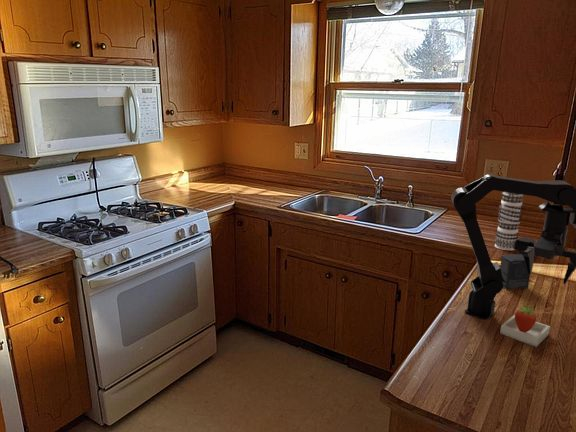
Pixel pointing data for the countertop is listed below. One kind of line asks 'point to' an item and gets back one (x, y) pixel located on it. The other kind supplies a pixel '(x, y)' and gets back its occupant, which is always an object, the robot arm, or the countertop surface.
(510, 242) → the decorative candle
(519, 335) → the bin
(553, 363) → the countertop surface
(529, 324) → the fruit
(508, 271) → the box
